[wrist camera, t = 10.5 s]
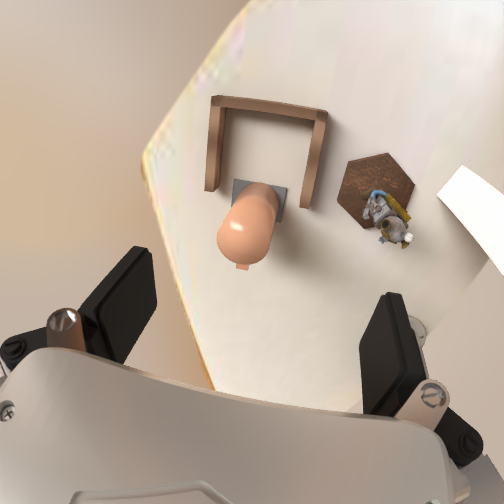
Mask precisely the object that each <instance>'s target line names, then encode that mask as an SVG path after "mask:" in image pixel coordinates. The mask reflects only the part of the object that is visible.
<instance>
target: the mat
mask: <svg viewBox="0 0 504 504" xmlns="http://www.w3.org/2000/svg"><path fill="white" fill-rule="evenodd" d="M251 183H256V182H250V181H244V180H238V179H234V184H233V194H232V204H231V207H232V206H233V204H234V202H235V200H236V199H237V197H238V195H239V193H240V192H241V190H242V189H243V188H244V187H245V186H247V185H248V184H251ZM267 185H268V184H267ZM269 186H270V187H272V188H273V189H274V190H275V192H276V193H277V195H278V199H279V206H278V211H277V215H276V220H275V222H281V217H282V212H283V206H284V201H285V195H286V189H287V188H284V187H279V186H273V185H269Z"/></svg>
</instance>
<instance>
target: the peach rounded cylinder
mask: <svg viewBox="0 0 504 504" xmlns="http://www.w3.org/2000/svg"><path fill="white" fill-rule="evenodd" d="M278 206H279V199H278V195H277V193H276V192H275V190H274V189H273V188H272V187H270V186H269V185H267V184H264V183H259V182H256V183H251V184H248V185H247V186H245V187H244V188H243V189H242V190H241V192H240V193H239V195H238V197H237V199H236V200H235V202H234V204H233V206H232V207H231V209H230V211H229V213H228V214H227V216H226V218H225V220H224V221H223V223H222V225H221V227H220V229H219V231H218V233H217V244H218V247H219V249H220V251H221V253H222V254H223V255H224V256H225V257H226V258H227V259H229V260H230V261H232V262H235V263H237V264H236V268H237V269H243V270H248V268H249V265H250V264H254V263H257V262H259V261H260V260H262V259H263V258H264V257H265V256H266V254H267V252H268V250H269V245H270V241H271V237H272V233H273V228H274V224H275V220H276V215H277V211H278Z"/></svg>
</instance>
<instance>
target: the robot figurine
mask: <svg viewBox="0 0 504 504" xmlns="http://www.w3.org/2000/svg"><path fill="white" fill-rule="evenodd" d="M414 185H415V184H414V183H413V182H412V181H411V179H410V178H409V177H408V176H407V174H406V173H405V172H404V171H403V170H402V168H401V167H400V166H399V165H398V164H397V162H396V161H395V160H394V159H393V158H392V157H391V156H390V154H389V153H385V154H380V155H375V156H371V157H366V158H362V159H358V160H353V161H349V162H348V165H347V168H346V172H345V175H344V178H343V182H342V185H341V188H340V192H339V195H338V198H337V201H338V203H339V204H340V205H341V206H342V207H343V208H344V209H345V210H346V211H347V212H348V213H349V214H350V215H351V216H352V217H353V218H354V219H355V220H356V221H357V222H358V223H359V224H360V225H361V226H362V227H363V228H364V229H366V228H370V227H374V226H376V227H377V228H378V229H381V233H382V235H383V236H382V237H380V238H379V241H380V242H381V243H382V244H383V243H384V242H388V241H389V242H391V243H394V244H397V242H401V243H402V249H404V248H406V247H407V246H408V245H409V243H410V242H411V241H413V234H411V233H406V230H407V228H408V225H407V222H408V221H409V220H410V219H411V217H410V216H409V215H408V214H407V211H406V210H405V209H406V207H407V204H408V202H409V199H410V196H411V194H412V191H413V188H414ZM403 239H404V240H403Z"/></svg>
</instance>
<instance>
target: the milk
mask: <svg viewBox="0 0 504 504" xmlns="http://www.w3.org/2000/svg"><path fill="white" fill-rule="evenodd" d="M437 196H438V197H439V198H440V199H441V201H442V202H443V203H444V204H445V205H446V206H447V207H448V208H449V209H450V210H451V211H452V213H453V214H454V215H455V216H456V217H457V218H458V219H459V221H460V222H461V223H462V224H463V225H464V226H465V228H466V229H467V230H468V231H469V232H470V234H471V235H472V236H473V237H474V239H475V240H476V241H477V242H478V243H479V245H480V246H481V247H482V249H483V250H484V251H485V252H486V254H487V255H488V256H489V258H490V259H491V260H492V262H493V263H494V264H495V265H496V267H497V269H498V270H499V271H500V273H501V274H502V276H503V277H504V195H503V194H501V193H500V192H499V191H498V190H496V189H495V188H494V187H492V186H491V185H490V184H488V183H487V182H486V181H484V180H483V179H482V178H480V177H479V176H478V175H476V174H475V173H473V172H472V171H470V170H469V169H468V168H466V167H465V166H463V165H462V166H461V167H460V168H459V169H458V170H457V172H456V173H455V174H454V175H453V177H452V178H451V179H450V180H449V181H448V182H447V184H446V185H445V186H444V187H443V188H442V190H441V191H440V192H439V193H438V194H437Z"/></svg>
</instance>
